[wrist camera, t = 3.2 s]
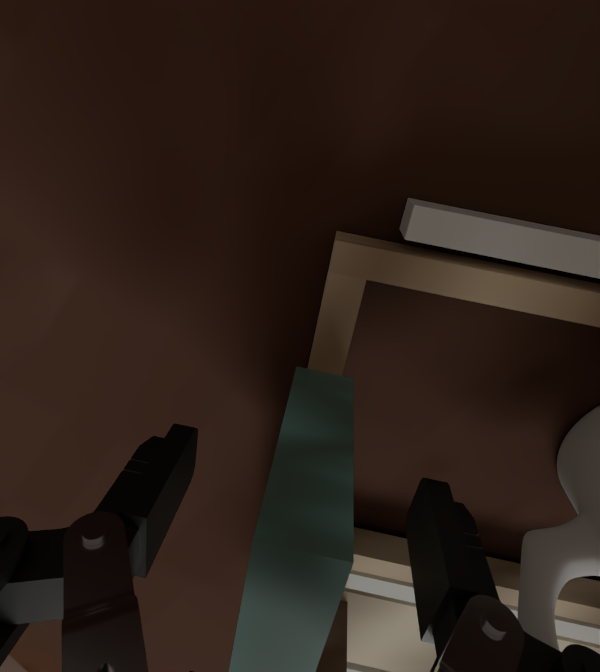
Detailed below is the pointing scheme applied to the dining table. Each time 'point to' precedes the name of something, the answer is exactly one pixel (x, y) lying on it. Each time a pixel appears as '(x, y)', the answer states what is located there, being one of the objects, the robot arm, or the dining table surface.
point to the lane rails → (509, 244)
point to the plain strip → (384, 636)
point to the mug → (564, 534)
